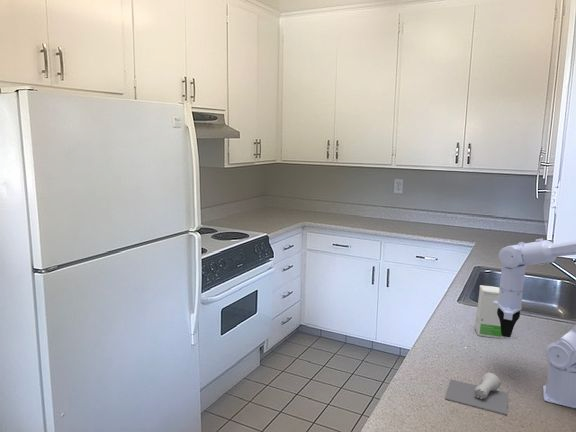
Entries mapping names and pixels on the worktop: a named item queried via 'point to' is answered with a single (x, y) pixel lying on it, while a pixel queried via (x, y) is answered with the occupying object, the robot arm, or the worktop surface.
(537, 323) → the worktop surface
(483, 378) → the rook chess piece
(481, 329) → the skincare box
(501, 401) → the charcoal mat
